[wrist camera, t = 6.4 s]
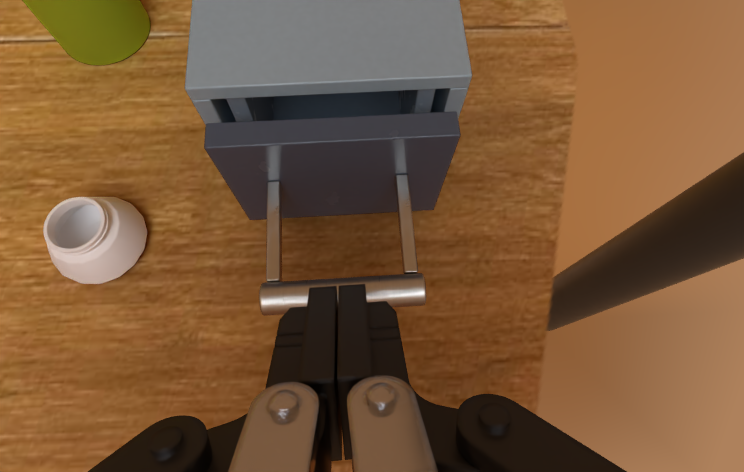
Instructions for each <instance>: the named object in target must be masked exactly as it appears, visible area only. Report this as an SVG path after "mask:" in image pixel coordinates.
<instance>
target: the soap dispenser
mask: <svg viewBox="0 0 744 472" xmlns="http://www.w3.org/2000/svg"><path fill="white" fill-rule="evenodd" d="M22 1H23V2H24V3H25V4H26V5H27V7H28V8H29V9H30V10H31V11H32V12H33V14H34V15H35V16H36V17H37V18H38V20H39V21H40V22H41V23H42V24H43V25H44V27H45V28H46V29H47V30H48V31H49V32H50V34H51V35H52V36H53V37H54V38H55V39H56V41H57V42H58V43H59V44H60V45H61V46H62V48H63V49H64V50H65V51H66V52H67V53H68V54H69V55H70V56H71V57H72V58H74V59H75V60H77V61H79V62H82V63H85V64H89V65H107V64H112V63H116V62H119V61H121V60H124V59H126V58H127V57H129V56H131V55H132V54H134V53H135V52H136V51H137V50H138V49H139V48H140V47H141V46H142V45H143V44H144V42H145V41H146V39H147V37H148V34H149V31H150V20H149V16H148V14H147V12H146V10H145V9H144V7H143V5H142V3H141V1H140V0H22Z"/></svg>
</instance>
